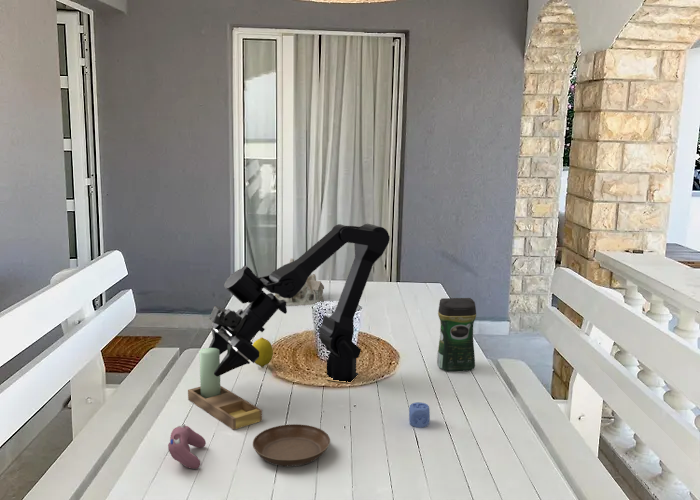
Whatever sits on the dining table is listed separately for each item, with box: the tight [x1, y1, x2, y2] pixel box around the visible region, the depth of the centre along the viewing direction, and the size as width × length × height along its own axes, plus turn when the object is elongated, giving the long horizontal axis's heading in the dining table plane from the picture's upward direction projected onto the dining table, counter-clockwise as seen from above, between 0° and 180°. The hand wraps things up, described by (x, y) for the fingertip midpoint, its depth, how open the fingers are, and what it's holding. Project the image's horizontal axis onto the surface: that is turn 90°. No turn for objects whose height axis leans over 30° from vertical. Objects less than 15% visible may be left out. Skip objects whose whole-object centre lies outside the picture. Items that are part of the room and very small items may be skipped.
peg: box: [198, 347, 221, 399], centre depth 154 cm, size 4×4×12 cm
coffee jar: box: [436, 297, 477, 373], centre depth 176 cm, size 10×8×19 cm
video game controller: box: [167, 424, 207, 470], centre depth 129 cm, size 10×5×7 cm, turn 5°
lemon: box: [252, 336, 274, 368], centre depth 177 cm, size 6×6×8 cm
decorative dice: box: [408, 402, 431, 429], centre depth 145 cm, size 4×4×4 cm
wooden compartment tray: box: [187, 385, 263, 431], centre depth 151 cm, size 20×7×2 cm, turn 40°
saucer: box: [252, 423, 331, 468], centre depth 132 cm, size 15×15×3 cm
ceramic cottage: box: [274, 258, 325, 307], centre depth 242 cm, size 16×16×15 cm
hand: (209, 368), depth 154 cm, fingers open, 9 cm apart
